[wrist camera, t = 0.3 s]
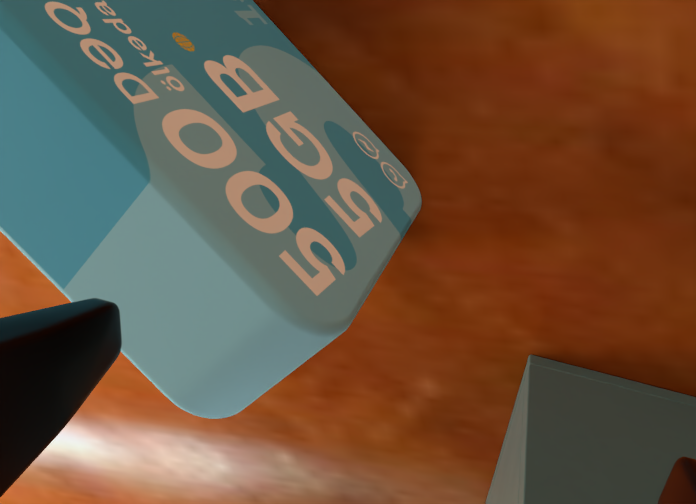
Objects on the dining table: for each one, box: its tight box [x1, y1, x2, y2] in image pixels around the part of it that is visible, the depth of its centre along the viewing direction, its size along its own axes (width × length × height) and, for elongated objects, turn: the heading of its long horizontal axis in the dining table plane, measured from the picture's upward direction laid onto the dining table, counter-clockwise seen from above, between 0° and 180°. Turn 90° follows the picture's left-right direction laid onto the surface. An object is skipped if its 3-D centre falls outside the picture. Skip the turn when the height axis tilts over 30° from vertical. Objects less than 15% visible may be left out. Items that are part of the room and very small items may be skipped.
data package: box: [0, 0, 422, 419], centre depth 18 cm, size 12×4×12 cm, turn 45°
